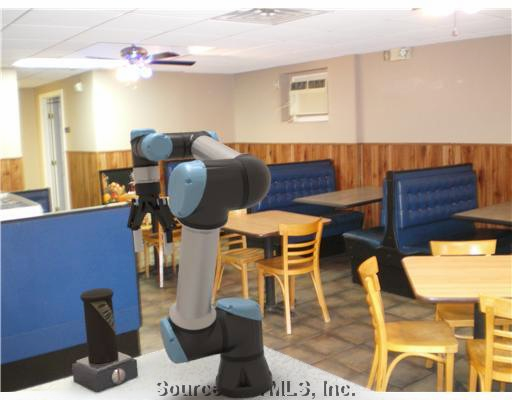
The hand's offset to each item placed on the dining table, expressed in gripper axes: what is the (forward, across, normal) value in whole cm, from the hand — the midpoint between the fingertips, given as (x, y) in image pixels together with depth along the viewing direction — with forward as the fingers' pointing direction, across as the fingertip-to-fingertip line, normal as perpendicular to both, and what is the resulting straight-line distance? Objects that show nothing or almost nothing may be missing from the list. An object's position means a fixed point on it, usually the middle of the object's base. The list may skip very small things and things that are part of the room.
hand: (153, 252), depth 166 cm
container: (+28, +5, +17) cm, 33 cm away
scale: (+34, +5, +17) cm, 38 cm away
